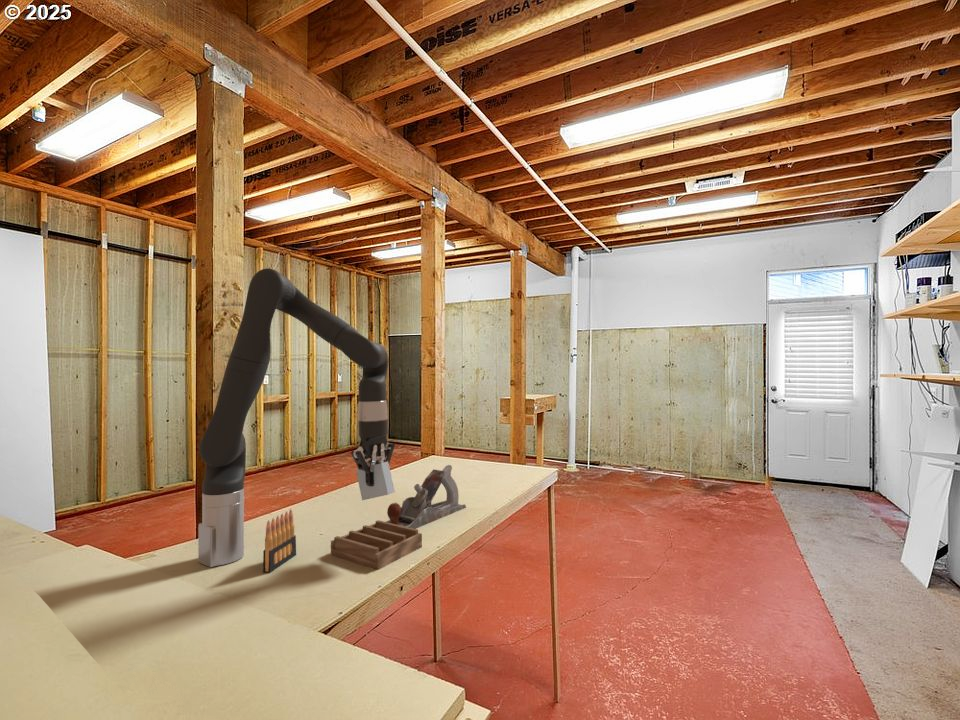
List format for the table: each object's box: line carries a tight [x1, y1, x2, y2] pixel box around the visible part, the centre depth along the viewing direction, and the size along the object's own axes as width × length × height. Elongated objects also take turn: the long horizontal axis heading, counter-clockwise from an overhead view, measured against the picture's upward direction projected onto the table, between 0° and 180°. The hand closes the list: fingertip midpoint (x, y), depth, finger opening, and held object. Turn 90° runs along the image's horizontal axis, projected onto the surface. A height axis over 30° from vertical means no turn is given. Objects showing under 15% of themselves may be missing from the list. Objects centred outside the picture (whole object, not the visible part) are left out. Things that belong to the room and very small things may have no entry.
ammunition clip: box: [262, 508, 297, 574], centre depth 112 cm, size 11×2×12 cm, turn 169°
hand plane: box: [385, 464, 467, 529], centre depth 145 cm, size 9×33×15 cm, turn 144°
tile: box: [355, 461, 396, 501], centre depth 118 cm, size 2×10×8 cm, turn 56°
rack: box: [330, 519, 423, 570], centre depth 119 cm, size 16×17×4 cm
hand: (374, 484), depth 118 cm, fingers closed on tile, 2 cm apart
